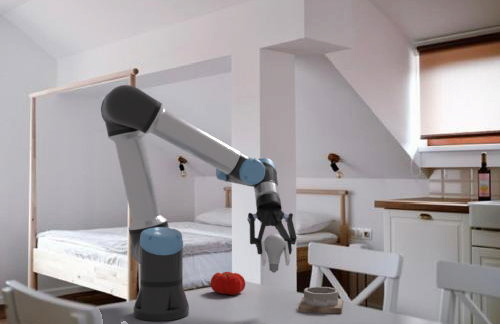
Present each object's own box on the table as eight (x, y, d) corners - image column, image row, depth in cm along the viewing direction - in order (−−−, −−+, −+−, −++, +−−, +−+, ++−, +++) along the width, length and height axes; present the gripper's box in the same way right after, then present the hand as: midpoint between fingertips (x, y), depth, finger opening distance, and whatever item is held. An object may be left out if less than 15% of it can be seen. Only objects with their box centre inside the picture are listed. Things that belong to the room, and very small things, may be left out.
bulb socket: (298, 311, 172) (298, 293, 172) (302, 301, 183) (302, 285, 183) (341, 313, 169) (341, 295, 169) (342, 303, 181) (342, 286, 181)
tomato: (225, 288, 203) (225, 269, 203) (250, 293, 196) (250, 273, 196) (204, 293, 196) (204, 273, 196) (229, 298, 188) (229, 277, 188)
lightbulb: (282, 275, 169) (283, 235, 169) (261, 273, 170) (262, 234, 170) (285, 271, 175) (286, 233, 175) (265, 270, 176) (266, 232, 176)
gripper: (296, 208, 189) (307, 270, 173) (236, 208, 187) (241, 270, 171) (300, 192, 184) (311, 254, 168) (238, 191, 182) (243, 254, 165)
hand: (276, 262), depth 169 cm, fingers closed on lightbulb, 6 cm apart
